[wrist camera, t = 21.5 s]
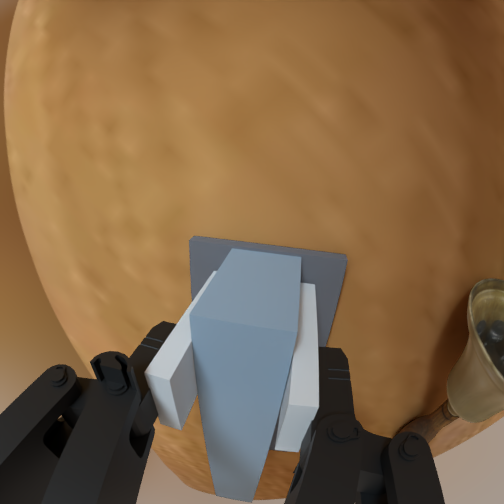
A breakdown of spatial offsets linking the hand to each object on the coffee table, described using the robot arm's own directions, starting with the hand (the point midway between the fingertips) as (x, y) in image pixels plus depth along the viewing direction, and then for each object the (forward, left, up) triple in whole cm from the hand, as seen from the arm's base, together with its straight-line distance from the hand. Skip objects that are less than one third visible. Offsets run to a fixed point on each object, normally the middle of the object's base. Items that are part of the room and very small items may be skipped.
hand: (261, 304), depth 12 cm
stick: (+8, 0, 0) cm, 8 cm away
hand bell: (-2, +13, +3) cm, 14 cm away
